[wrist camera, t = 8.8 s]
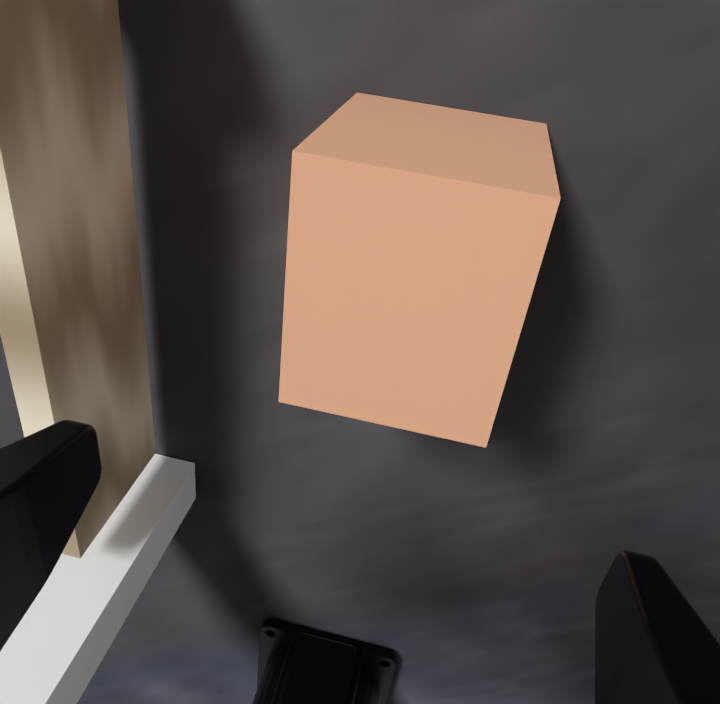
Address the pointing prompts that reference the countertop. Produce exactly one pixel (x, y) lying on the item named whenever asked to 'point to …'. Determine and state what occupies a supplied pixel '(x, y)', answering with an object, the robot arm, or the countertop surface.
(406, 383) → the doorstop block
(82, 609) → the twin post hurdle
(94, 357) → the gate
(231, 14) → the countertop surface
